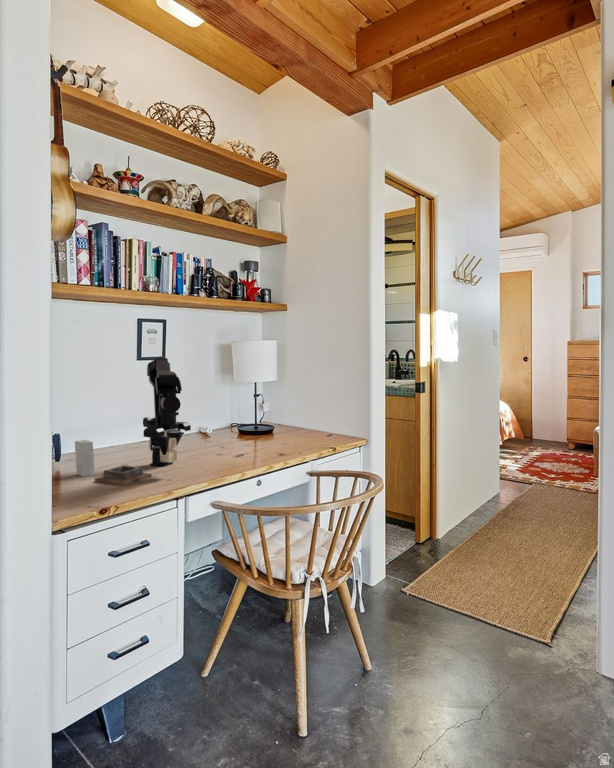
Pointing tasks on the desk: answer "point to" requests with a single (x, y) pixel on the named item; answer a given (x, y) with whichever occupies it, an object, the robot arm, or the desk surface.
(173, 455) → the maple peg
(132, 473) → the socket holder
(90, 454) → the skincare box
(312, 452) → the desk surface
